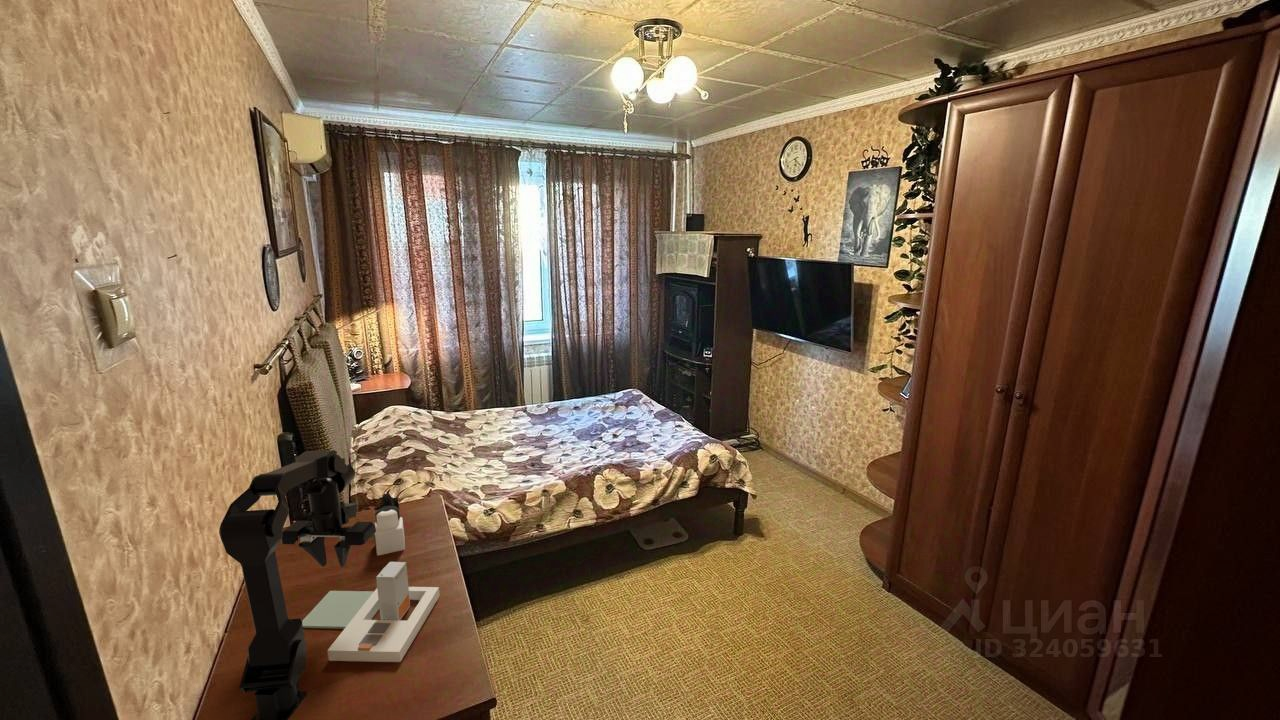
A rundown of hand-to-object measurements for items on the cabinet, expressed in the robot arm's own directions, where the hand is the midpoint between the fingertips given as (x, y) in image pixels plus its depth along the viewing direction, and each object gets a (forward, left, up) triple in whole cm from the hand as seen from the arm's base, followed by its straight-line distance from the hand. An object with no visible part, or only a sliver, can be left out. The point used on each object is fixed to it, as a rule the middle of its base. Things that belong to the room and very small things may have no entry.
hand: (333, 565), depth 119 cm
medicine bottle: (+26, +1, -12) cm, 29 cm away
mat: (0, 0, -12) cm, 12 cm away
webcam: (+38, +7, -12) cm, 41 cm away
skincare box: (-1, -14, -12) cm, 18 cm away
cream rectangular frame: (-6, -14, -12) cm, 19 cm away
